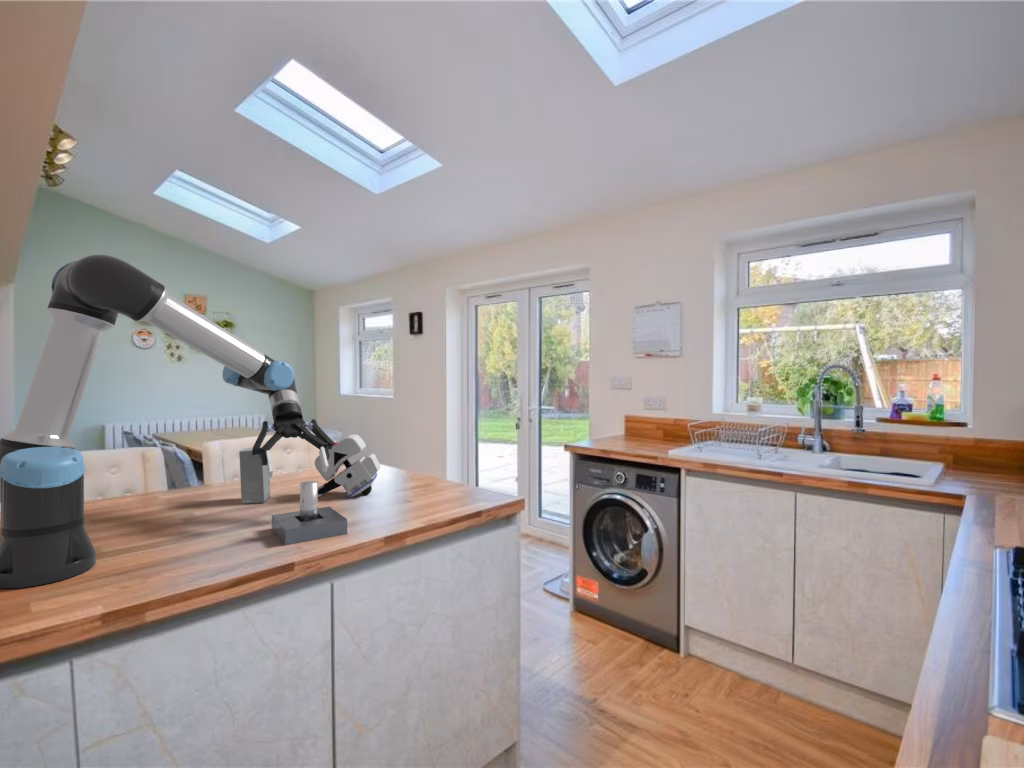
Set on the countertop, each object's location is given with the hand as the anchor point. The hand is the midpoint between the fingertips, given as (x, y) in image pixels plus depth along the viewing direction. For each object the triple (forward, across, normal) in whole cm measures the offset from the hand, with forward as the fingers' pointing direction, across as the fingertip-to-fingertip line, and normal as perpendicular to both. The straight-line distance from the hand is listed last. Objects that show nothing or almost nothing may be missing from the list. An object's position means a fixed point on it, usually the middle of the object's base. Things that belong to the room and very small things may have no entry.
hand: (299, 471), depth 130 cm
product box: (-12, +5, -30) cm, 33 cm away
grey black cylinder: (+16, 0, -3) cm, 16 cm away
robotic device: (-6, -19, -24) cm, 32 cm away
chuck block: (+16, 0, -3) cm, 16 cm away
